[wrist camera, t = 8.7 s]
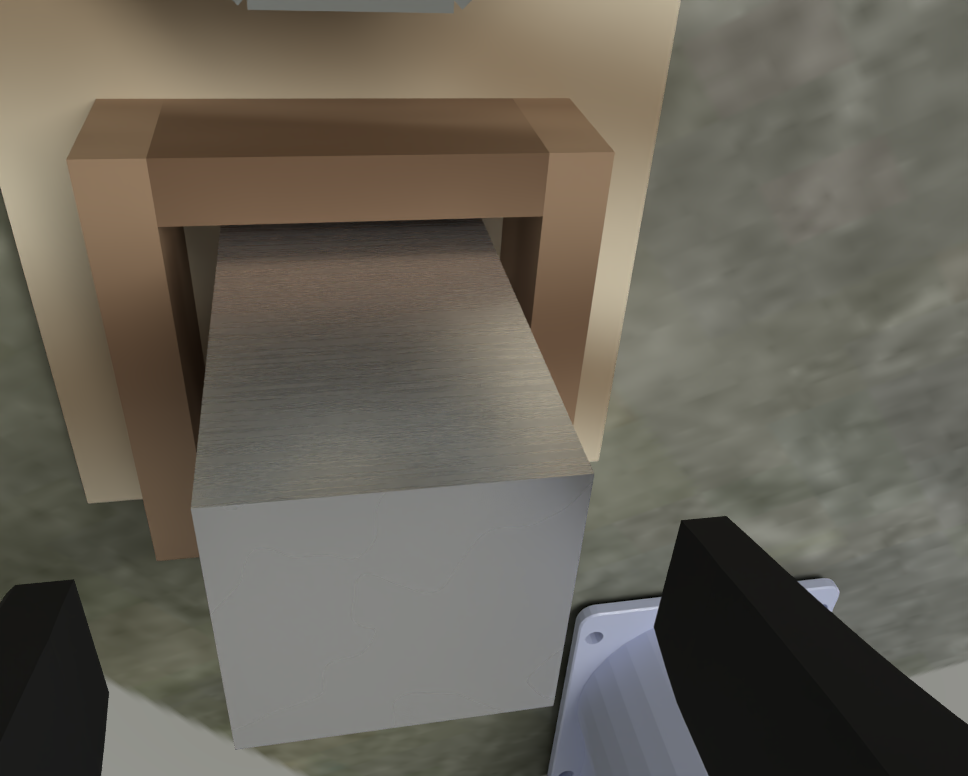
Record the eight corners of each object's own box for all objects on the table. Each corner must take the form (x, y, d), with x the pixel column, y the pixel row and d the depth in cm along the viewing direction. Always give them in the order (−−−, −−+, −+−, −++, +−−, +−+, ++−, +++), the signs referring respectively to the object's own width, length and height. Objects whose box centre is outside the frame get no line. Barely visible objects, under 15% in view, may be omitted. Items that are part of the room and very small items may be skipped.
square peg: (452, 362, 18) (553, 705, 11) (248, 374, 17) (235, 749, 11) (461, 173, 15) (594, 474, 9) (225, 177, 15) (190, 508, 8)
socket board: (586, 433, 21) (634, 538, 18) (95, 471, 19) (65, 597, 16) (778, -746, 10) (963, -925, 8) (-279, -958, 8) (-551, -1305, 6)
